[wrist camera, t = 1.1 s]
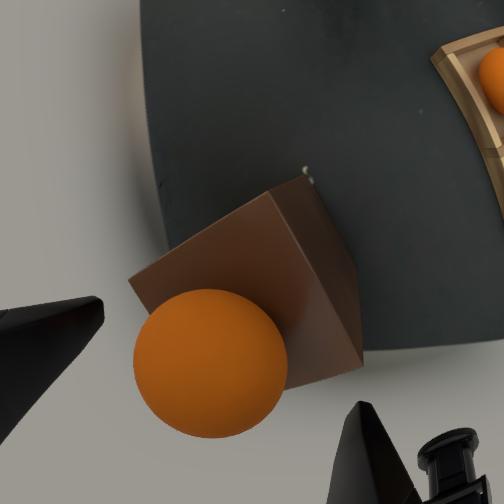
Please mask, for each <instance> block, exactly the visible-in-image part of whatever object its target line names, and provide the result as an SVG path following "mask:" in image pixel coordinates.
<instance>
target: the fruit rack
mask: <svg viewBox="0 0 504 504" xmlns="http://www.w3.org/2000/svg"><path fill="white" fill-rule="evenodd" d="M495 48H504V26H502V27H498V28H495V29H491V30H488V31H484V32H481V33H478V34H475V35H472V36H469V37H466V38H463V39H460V40H457V41H454V42H452V43H449V44H446V45H444V46H441V47H440V48H439V49H438V50H437V52H436V53H435V54H434V55H433V56H432V57H431V58H430V61H431V62H432V64H433V65H434V67H435V68H436V70H437V71H438V73H439V74H440V76H441V77H442V79H443V81H444V82H445V84H446V85H447V87H448V89H449V90H450V92H451V94H452V96H453V97H454V99H455V101H456V103H457V105H458V106H459V108H460V110H461V112H462V114H463V116H464V118H465V120H466V122H467V124H468V126H469V128H470V130H471V132H472V134H473V136H474V139H475V141H476V143H477V145H478V148H479V150H480V152H481V155H482V157H483V160H484V162H485V165H486V167H487V170H488V173H489V175H490V178H491V181H492V184H493V187H494V190H495V193H496V196H497V199H498V203H499V206H500V209H501V213H502V217H503V220H504V115H503V114H501V113H500V112H499V111H497V110H496V109H495V108H494V107H493V106H492V105H491V103H490V102H489V101H488V99H487V97H486V96H485V94H484V92H483V89H482V87H481V83H480V78H479V68H480V64H481V61H482V59H483V57H484V56H485V54H487V53H488V52H489V51H490V50H493V49H495Z"/></svg>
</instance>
